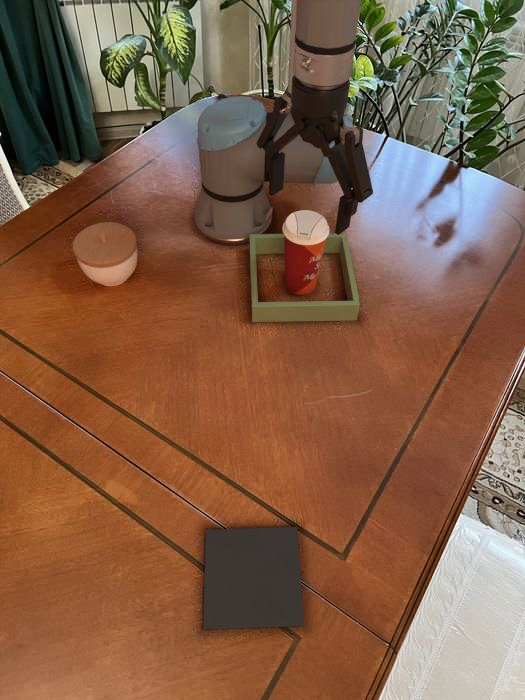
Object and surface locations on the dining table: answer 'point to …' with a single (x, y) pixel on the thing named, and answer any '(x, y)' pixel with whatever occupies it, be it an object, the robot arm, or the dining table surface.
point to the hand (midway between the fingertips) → (307, 210)
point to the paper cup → (303, 250)
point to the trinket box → (106, 252)
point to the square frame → (304, 308)
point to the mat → (252, 579)
